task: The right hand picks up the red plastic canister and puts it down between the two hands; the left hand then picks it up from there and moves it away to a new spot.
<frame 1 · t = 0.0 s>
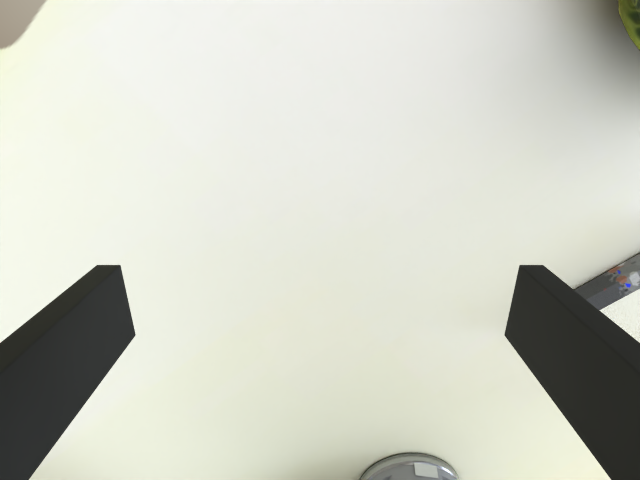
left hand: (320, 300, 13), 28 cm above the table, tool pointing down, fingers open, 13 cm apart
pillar: (602, 281, 44), on the table
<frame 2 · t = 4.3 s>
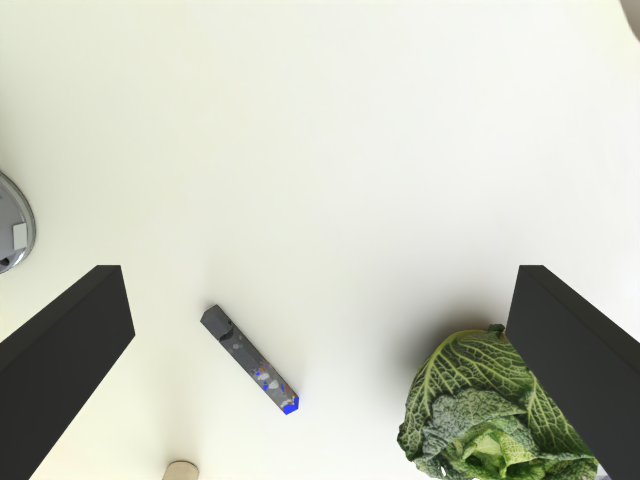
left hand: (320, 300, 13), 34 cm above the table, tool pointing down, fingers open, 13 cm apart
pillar: (255, 357, 56), on the table
vegetable: (463, 359, 56), on the table
candle: (183, 471, 65), on the table
when the right hand's fingers open (3 cm above the table, at t = 11.6 s): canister drops 1 cm, on the table.
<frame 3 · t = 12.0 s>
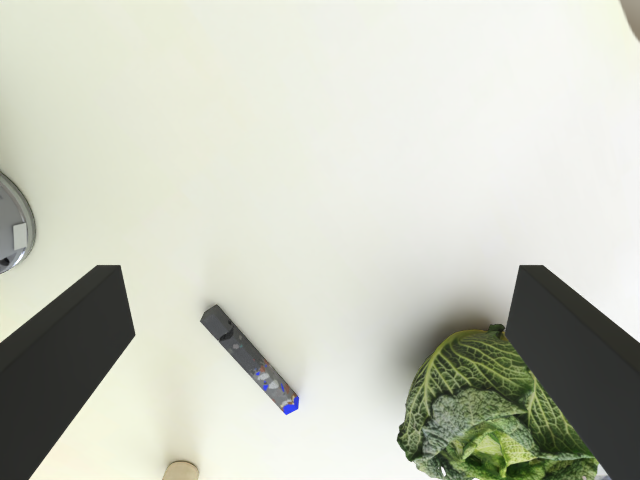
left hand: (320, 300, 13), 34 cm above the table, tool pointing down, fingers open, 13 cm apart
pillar: (255, 357, 56), on the table
vegetable: (463, 359, 56), on the table
candle: (183, 471, 65), on the table
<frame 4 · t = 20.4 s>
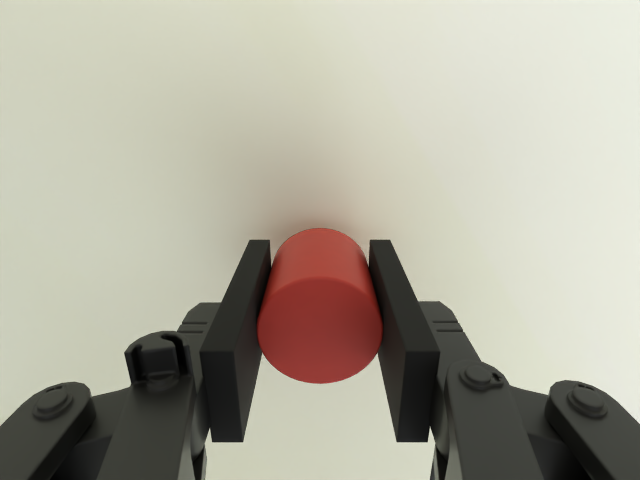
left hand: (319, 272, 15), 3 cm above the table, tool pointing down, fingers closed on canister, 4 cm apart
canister: (319, 272, 15), point 2 cm above the table, touching left hand
when the left hand's fingers open (0 cm above the table, at t = 30.2 s): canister stays where it is, on the table.
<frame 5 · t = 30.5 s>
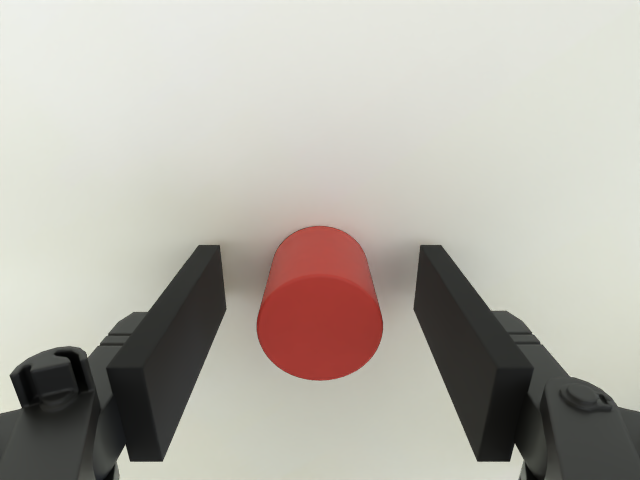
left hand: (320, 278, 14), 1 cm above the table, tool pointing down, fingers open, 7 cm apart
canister: (319, 270, 15), on the table
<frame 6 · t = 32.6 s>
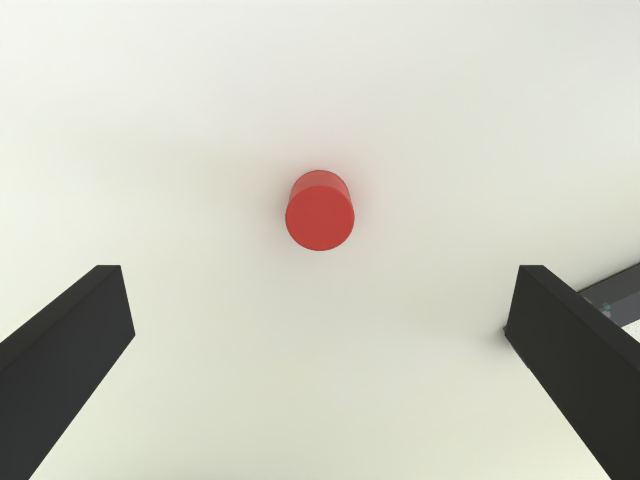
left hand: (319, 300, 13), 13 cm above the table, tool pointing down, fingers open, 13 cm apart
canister: (319, 199, 25), on the table
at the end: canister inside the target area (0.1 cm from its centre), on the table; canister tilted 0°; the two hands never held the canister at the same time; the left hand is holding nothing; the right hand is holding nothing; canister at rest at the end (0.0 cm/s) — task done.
